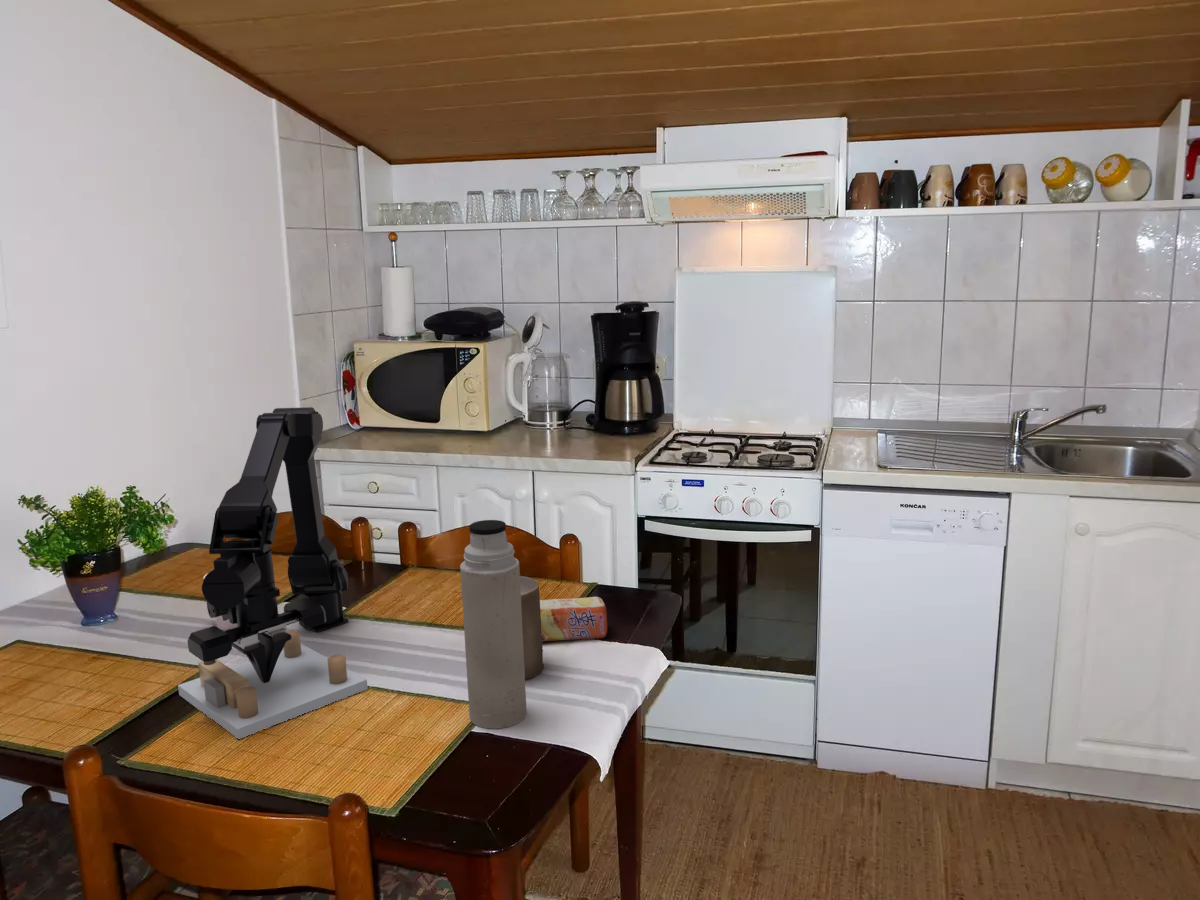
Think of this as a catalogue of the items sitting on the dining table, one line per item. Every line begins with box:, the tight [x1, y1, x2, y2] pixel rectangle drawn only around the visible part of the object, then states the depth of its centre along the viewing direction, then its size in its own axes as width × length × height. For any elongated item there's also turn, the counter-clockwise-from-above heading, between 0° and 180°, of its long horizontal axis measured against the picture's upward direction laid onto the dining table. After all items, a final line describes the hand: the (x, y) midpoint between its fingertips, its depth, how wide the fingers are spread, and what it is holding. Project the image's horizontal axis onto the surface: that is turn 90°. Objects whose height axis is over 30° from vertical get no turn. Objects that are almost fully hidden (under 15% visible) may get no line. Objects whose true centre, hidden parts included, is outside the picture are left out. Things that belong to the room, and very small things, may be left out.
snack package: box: [540, 596, 608, 643], centre depth 158 cm, size 21×7×7 cm, turn 97°
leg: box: [198, 659, 249, 708], centre depth 137 cm, size 11×2×4 cm, turn 45°
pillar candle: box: [520, 575, 545, 680], centre depth 145 cm, size 10×10×15 cm
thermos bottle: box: [459, 519, 527, 730], centre depth 129 cm, size 8×8×28 cm
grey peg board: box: [177, 630, 368, 740], centre depth 140 cm, size 20×20×5 cm
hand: (265, 681), depth 139 cm, fingers closed
